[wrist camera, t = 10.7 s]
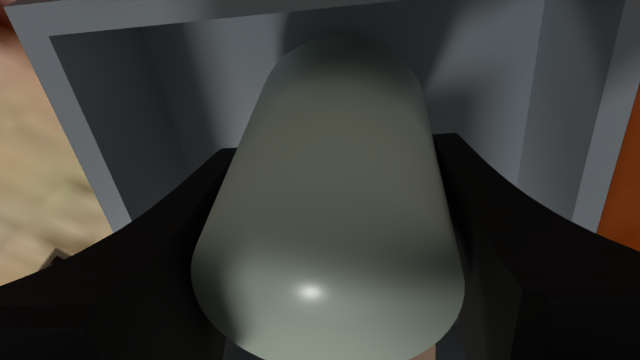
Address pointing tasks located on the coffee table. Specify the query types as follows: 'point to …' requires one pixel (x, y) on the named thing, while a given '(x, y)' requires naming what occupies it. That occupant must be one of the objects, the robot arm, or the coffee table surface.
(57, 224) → the coffee table surface
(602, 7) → the tote
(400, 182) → the sage capsule
